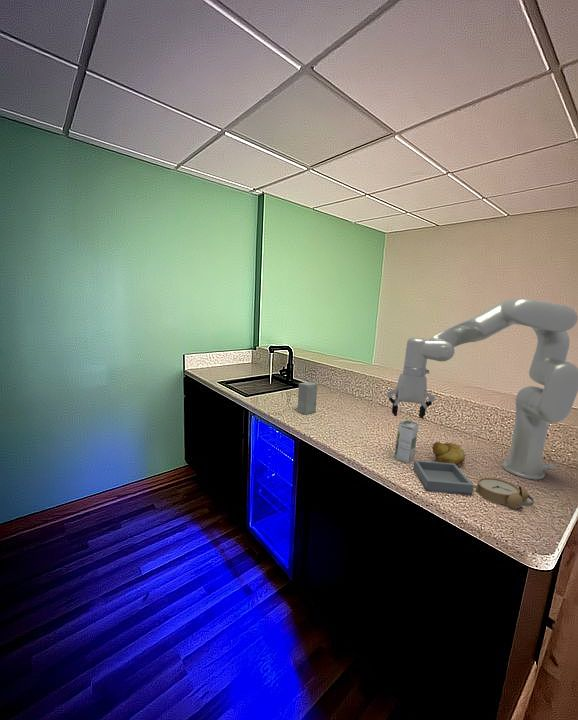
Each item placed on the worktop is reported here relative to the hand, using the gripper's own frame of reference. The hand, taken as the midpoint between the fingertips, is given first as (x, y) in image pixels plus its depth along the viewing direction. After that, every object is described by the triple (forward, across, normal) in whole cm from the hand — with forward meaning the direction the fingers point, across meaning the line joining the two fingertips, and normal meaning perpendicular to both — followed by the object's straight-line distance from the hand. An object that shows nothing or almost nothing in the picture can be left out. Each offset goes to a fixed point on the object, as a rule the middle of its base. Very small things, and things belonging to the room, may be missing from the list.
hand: (407, 416), depth 120 cm
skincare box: (+18, +38, -47) cm, 63 cm away
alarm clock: (+17, -25, +22) cm, 37 cm away
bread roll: (+17, -18, 0) cm, 25 cm away
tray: (+17, -9, +15) cm, 24 cm away
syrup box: (+17, -1, 0) cm, 17 cm away
